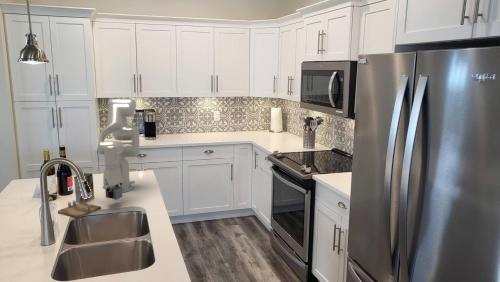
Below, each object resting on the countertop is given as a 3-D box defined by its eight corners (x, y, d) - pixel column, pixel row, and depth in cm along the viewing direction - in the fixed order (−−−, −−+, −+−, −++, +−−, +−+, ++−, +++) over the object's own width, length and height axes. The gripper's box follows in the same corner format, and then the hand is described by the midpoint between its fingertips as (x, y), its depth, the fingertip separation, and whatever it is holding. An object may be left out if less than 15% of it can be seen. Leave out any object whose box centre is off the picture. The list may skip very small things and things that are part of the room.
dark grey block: (112, 194, 216) (111, 184, 215) (122, 197, 213) (122, 187, 212) (105, 197, 212) (105, 187, 211) (116, 199, 209) (115, 189, 207)
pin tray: (81, 203, 216) (81, 197, 215) (101, 208, 209) (100, 201, 208) (57, 212, 202) (56, 205, 201) (77, 218, 195) (76, 210, 194)
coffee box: (85, 197, 227) (83, 172, 224) (94, 198, 226) (93, 173, 223) (75, 202, 218) (73, 176, 215) (85, 203, 217) (83, 177, 214)
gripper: (118, 161, 217) (120, 190, 221) (95, 168, 203) (97, 199, 207) (128, 163, 214) (129, 192, 218) (105, 170, 199) (107, 202, 203)
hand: (114, 195), depth 212 cm, fingers closed on dark grey block, 5 cm apart
